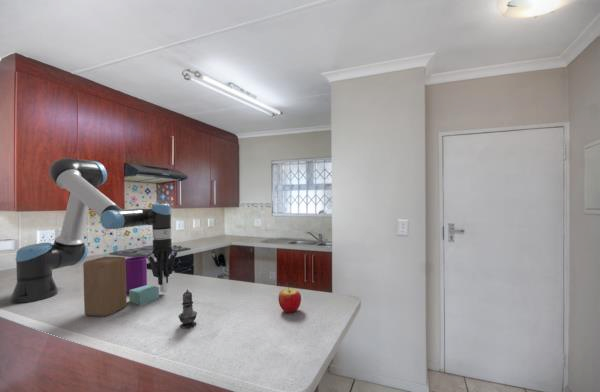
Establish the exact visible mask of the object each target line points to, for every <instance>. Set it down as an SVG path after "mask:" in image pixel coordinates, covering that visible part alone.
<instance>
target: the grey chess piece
mask: <svg viewBox="0 0 600 392" xmlns="http://www.w3.org/2000/svg"><path fill="white" fill-rule="evenodd" d="M193 304H194V301H193V293H192V292H191V291H189V289H186V291H185V292H183V294H182V303H181V305H182V312H181V313H180V314H178V316H177V317H178V318H179V321H180V322H181V324H180V325H179V329H180V330H181V329H182V330H188V329H192V328H194V327H196V326H197V322H196V318H197V315H198V312H197V311H195V310H194V307H193Z"/></svg>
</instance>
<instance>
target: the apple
mask: <svg viewBox="0 0 600 392" xmlns="http://www.w3.org/2000/svg"><path fill="white" fill-rule="evenodd" d="M285 285H286V286H287V287H288V288H285V289H281V290H280V292H279V293H278V305H279V307H280V308H281V310H282V311H284V312H285V313H294V312H296V311H297V310H299V307H300V306H301V302H302V294H301V293H300V291H299V290H297V289H295V288H290V287H289V285H288V283H287V282H286V283H285Z"/></svg>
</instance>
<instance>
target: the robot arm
mask: <svg viewBox="0 0 600 392" xmlns="http://www.w3.org/2000/svg"><path fill="white" fill-rule="evenodd" d="M48 173H49V178H50V179H51V181H52V182H53V183H54V184H56V186H57V187H59V188H61V189H63V190H67V191H68V192H69V197H68V201H67V204H66V205H67V207H66V210H65V214H64V217H63V218H64V219H63V222H62V225H61V226H62V227H61V230H60V235H58V236H57V237H55V239H54V242H53V244H52V243H51V242H39V243H33V244H28V245H26V246H22V247H20V248H19V249H17V251H16V256H15V262H16V265H15V266H16V283H15V286H14V289H13V291H12V295H11V297H10V298H11V303H13V304H23V303H31V302H36V301H39V300H40V301H41V300H44V299H45V300H46V299H48V298H51V297H53V296H56V295H57V294H59V292H58V286H57V285H56V282H55V280H54V278H53V270H57V269H60V268H62V269H63V268H65V267H72V266H75V265H77V264H81V263H82V262H83V261H85V260H86V258H87V257H88V253H89V248H88V244H87V243H86V242H85V241H86V240H85V239H84V238H83V234H84V231H85V228H86V227H85V226H86V222H87V218H88V214H89V210H91V211H93V213H95V214H96V215H97V216H98V217H100V218H99V222H100V224H101V227H102V228H104V229H106V230H118V229H125V228H130V227H131V228H132V227H133V228H134V227H139V226H141V227H142V226H152V252H151V254H150V255H147V257H146V260H148V262H149V265H150V269H151V272H152V275H153V277H154V278H157V284H158V285H159V292H161V293H167V292H168V291H167V290H168V289H167V288H168V286H167V284H168V283H169V277H170V275H172V274H173V271H174V265H175V261H176V257H177V256H178V252H177V251H175V250H173V248H172V244H173V243H172V238H171V237H172V212H171V211H172V210H171V204H169V203H154V204H152V205H151V208H140V207H139V208H132V209H130V208H129V209H123V208H121V207H120V206H119V205H117V203H115V202H114V201H113V200H111V199H110V198H109V197H107V196H106V195H105V194H104V193H102V192H101V191H100V190H99V186H101V185H103V184H105V183H106V181H107V179H108V178H107V177H108V172H107V169H106V167H105V166H104V164H102V163H101V162H98V161H95V160H90V159H80V158H71V157H63V158H59V159H56V160H55V161H54V162H52V164H51V165H50V166H49V170H48ZM155 259H156V261H155ZM156 262H157V263H156Z"/></svg>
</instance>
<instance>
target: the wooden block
mask: <svg viewBox="0 0 600 392" xmlns="http://www.w3.org/2000/svg"><path fill="white" fill-rule="evenodd" d="M126 259H127V258H126V257H125V256H103V257H98V258H95V259H90V260H86V261H84V262H83V265H82V266H83V303H84V306H83V307H84V308H83V309H84V310H83V311H84V313H83V314H84V315H85V316H95V317H96V316H97V317H98V316H99V317H108V316H110V315H112V314H114V313H116V312H118V311H120V310H122V309H125V308H126V307H127V303H128V302H127V300H128V299H127V293H126Z"/></svg>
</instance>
